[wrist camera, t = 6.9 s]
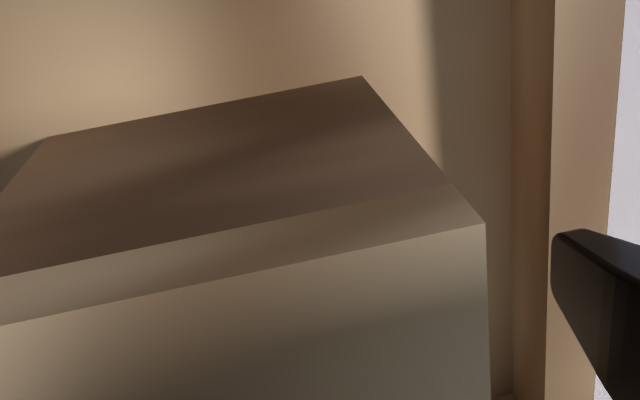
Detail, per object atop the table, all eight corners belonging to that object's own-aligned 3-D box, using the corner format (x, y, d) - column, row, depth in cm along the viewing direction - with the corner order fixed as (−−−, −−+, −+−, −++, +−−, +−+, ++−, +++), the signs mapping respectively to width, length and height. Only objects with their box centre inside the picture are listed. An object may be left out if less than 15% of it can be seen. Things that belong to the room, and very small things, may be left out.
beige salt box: (362, 75, 9) (495, 235, 5) (393, 320, 11) (502, 592, 7) (46, 136, 9) (-149, 372, 4) (142, 376, 11) (82, 698, 7)
